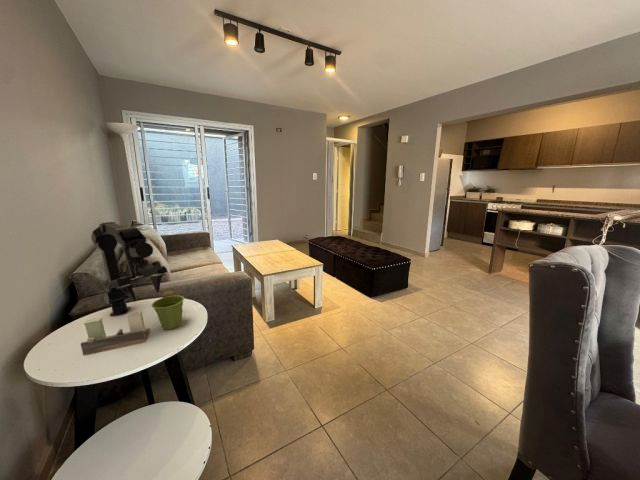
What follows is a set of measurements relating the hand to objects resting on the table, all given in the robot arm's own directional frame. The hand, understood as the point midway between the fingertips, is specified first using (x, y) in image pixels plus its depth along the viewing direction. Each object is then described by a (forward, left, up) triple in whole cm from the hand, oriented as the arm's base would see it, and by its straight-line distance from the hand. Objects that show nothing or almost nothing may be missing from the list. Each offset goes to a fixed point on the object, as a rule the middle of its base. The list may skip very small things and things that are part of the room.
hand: (146, 296), depth 102 cm
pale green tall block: (+3, -17, -13) cm, 22 cm away
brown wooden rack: (+4, -11, -15) cm, 19 cm away
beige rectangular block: (+3, -4, -13) cm, 14 cm away
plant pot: (-2, +7, -16) cm, 17 cm away
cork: (-14, +5, -16) cm, 21 cm away
